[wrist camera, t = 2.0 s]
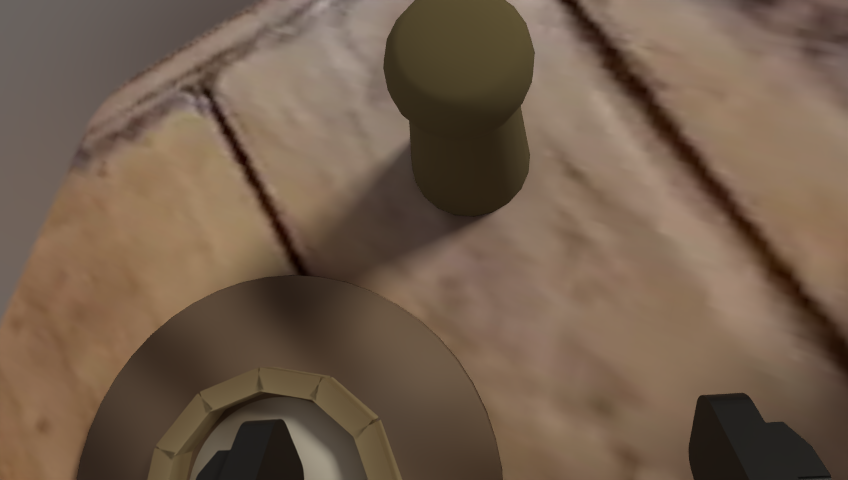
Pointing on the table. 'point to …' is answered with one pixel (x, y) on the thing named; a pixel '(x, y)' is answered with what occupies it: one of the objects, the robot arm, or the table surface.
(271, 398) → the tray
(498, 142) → the cork
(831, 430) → the table surface
